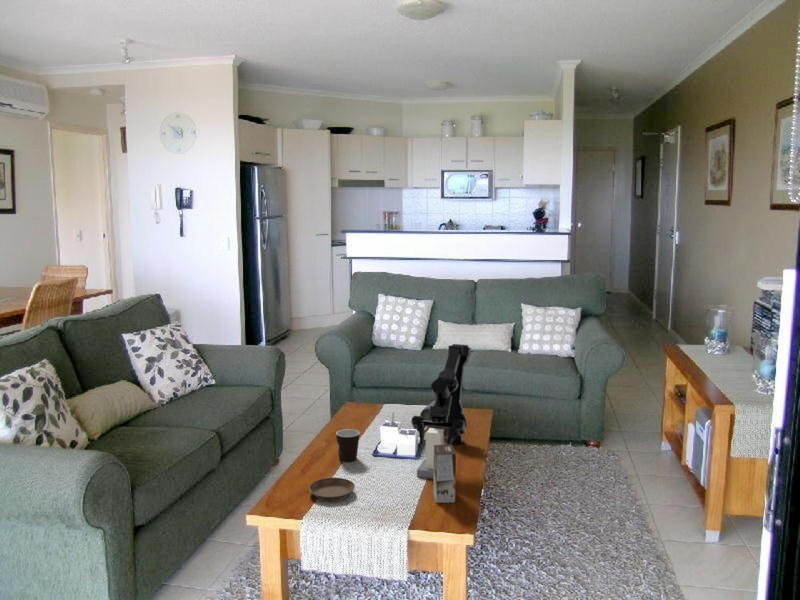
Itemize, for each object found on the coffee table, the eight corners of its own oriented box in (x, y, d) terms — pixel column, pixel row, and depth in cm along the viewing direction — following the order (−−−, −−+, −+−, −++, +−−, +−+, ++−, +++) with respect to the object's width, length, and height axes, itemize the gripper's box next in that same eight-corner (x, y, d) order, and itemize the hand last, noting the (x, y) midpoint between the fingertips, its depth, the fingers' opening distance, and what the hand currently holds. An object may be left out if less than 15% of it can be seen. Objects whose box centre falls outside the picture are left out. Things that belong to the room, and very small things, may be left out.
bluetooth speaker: (439, 432, 283) (439, 408, 281) (418, 428, 287) (418, 405, 285) (458, 416, 303) (458, 394, 302) (438, 413, 307) (439, 392, 306)
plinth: (424, 466, 246) (424, 459, 246) (451, 469, 244) (451, 462, 243) (416, 476, 237) (417, 469, 237) (445, 480, 234) (445, 473, 234)
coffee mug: (356, 464, 248) (356, 437, 246) (333, 462, 249) (333, 436, 248) (364, 452, 259) (364, 427, 257) (342, 451, 261) (342, 425, 259)
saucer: (313, 506, 214) (313, 498, 213) (305, 487, 228) (305, 480, 227) (359, 501, 218) (359, 493, 218) (349, 483, 232) (349, 475, 232)
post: (429, 462, 243) (429, 427, 241) (443, 464, 242) (443, 429, 240) (425, 468, 238) (426, 432, 236) (439, 469, 237) (440, 433, 235)
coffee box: (455, 502, 217) (456, 454, 215) (435, 503, 216) (436, 454, 214) (451, 490, 226) (452, 444, 224) (432, 491, 226) (433, 444, 223)
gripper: (413, 393, 243) (404, 433, 234) (464, 398, 238) (457, 439, 229) (418, 408, 252) (410, 447, 243) (468, 413, 247) (461, 453, 238)
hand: (434, 446), depth 238 cm, fingers open, 9 cm apart
